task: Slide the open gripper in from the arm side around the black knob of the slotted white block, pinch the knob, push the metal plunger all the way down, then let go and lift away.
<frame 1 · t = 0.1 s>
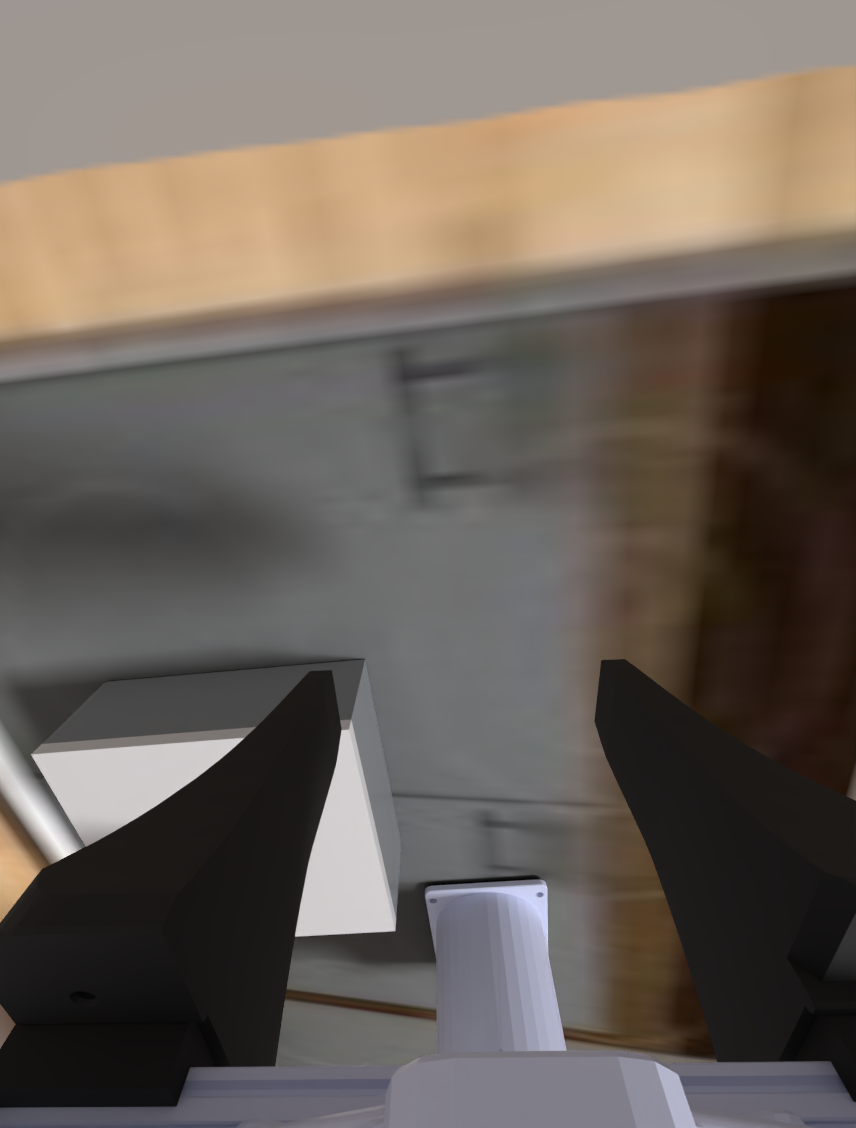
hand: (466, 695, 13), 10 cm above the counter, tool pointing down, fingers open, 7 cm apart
slotted white block: (266, 769, 27), on the counter
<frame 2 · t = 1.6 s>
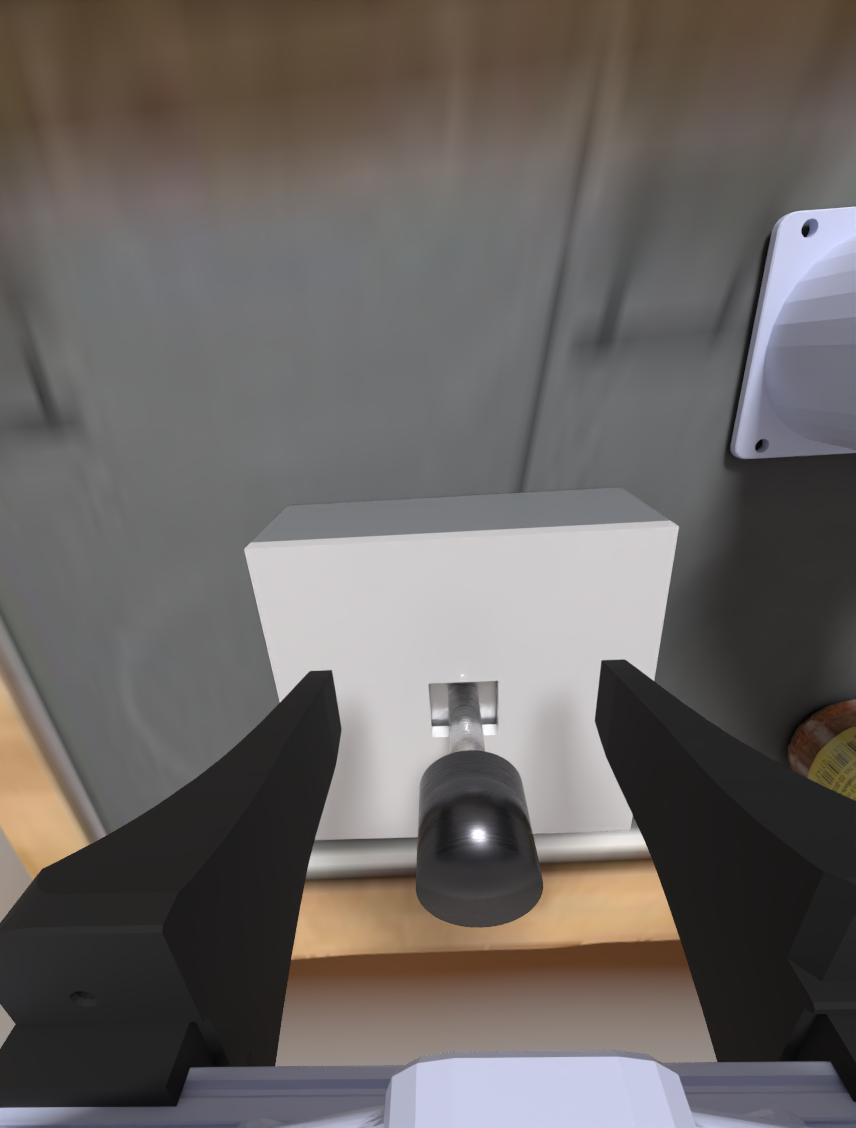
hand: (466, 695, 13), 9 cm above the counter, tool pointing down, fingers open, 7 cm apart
sauce bottle: (842, 732, 25), on the counter
slotted white block: (458, 638, 22), on the counter
plunger: (468, 764, 15), point 8 cm above the counter, slide at 0.0 cm
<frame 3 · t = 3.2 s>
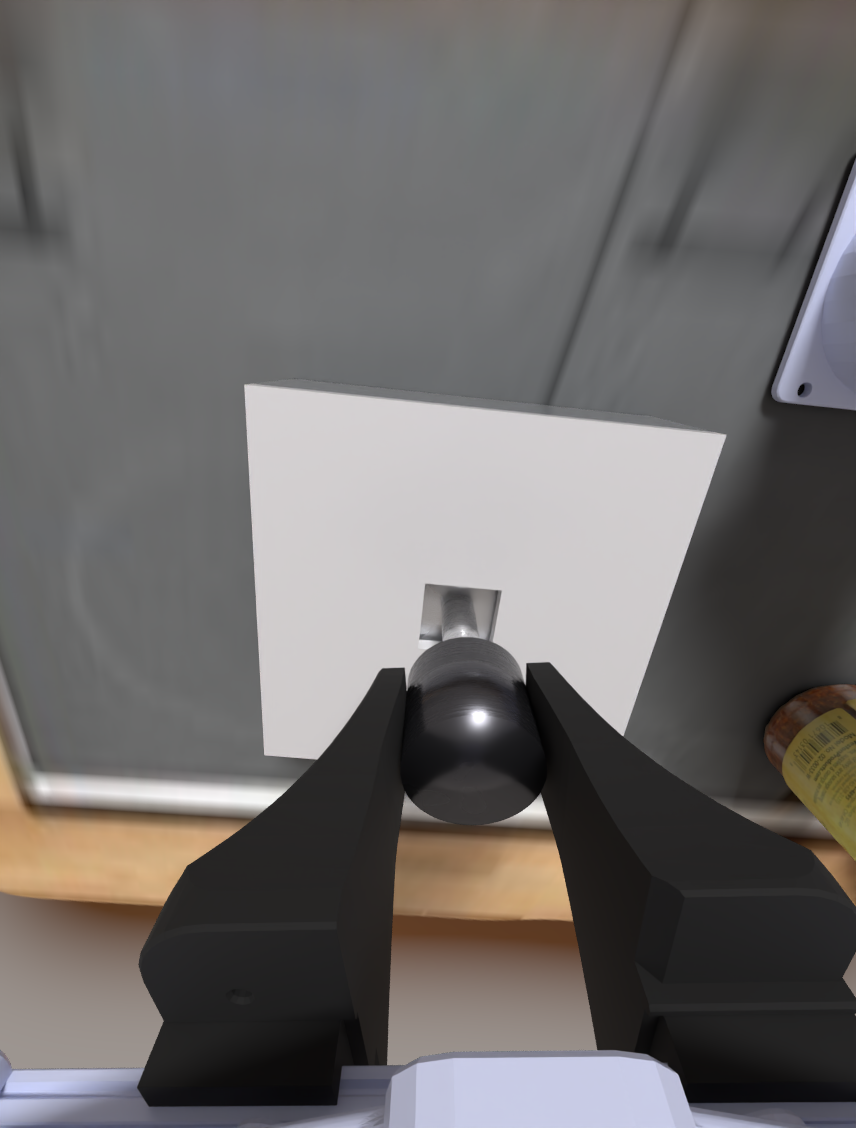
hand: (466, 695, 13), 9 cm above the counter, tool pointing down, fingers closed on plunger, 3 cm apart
sauce bottle: (818, 720, 24), on the counter
slotted white block: (453, 563, 21), on the counter
plunger: (463, 665, 14), point 8 cm above the counter, slide at 0.0 cm, touching gripper
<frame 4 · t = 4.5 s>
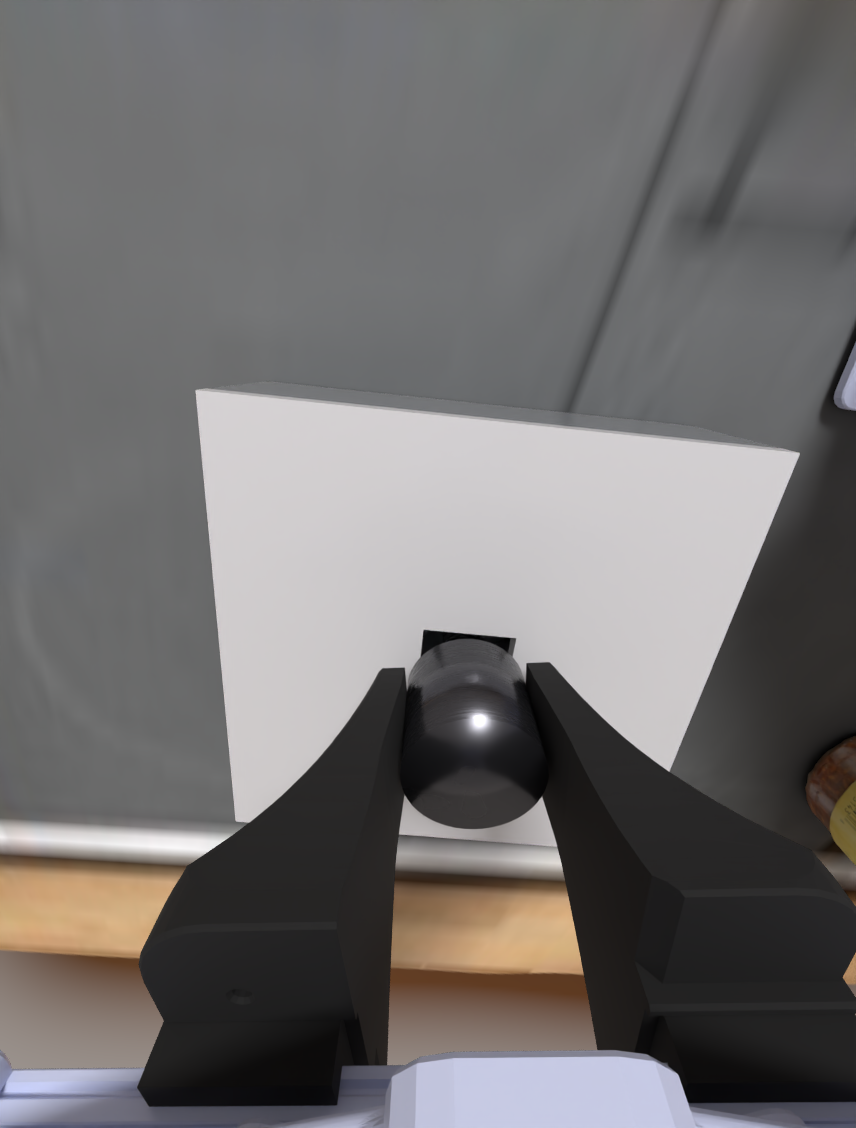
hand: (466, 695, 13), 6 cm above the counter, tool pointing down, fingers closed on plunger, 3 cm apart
slotted white block: (456, 593, 18), on the counter
plunger: (463, 667, 14), point 5 cm above the counter, slide at 2.9 cm, touching gripper
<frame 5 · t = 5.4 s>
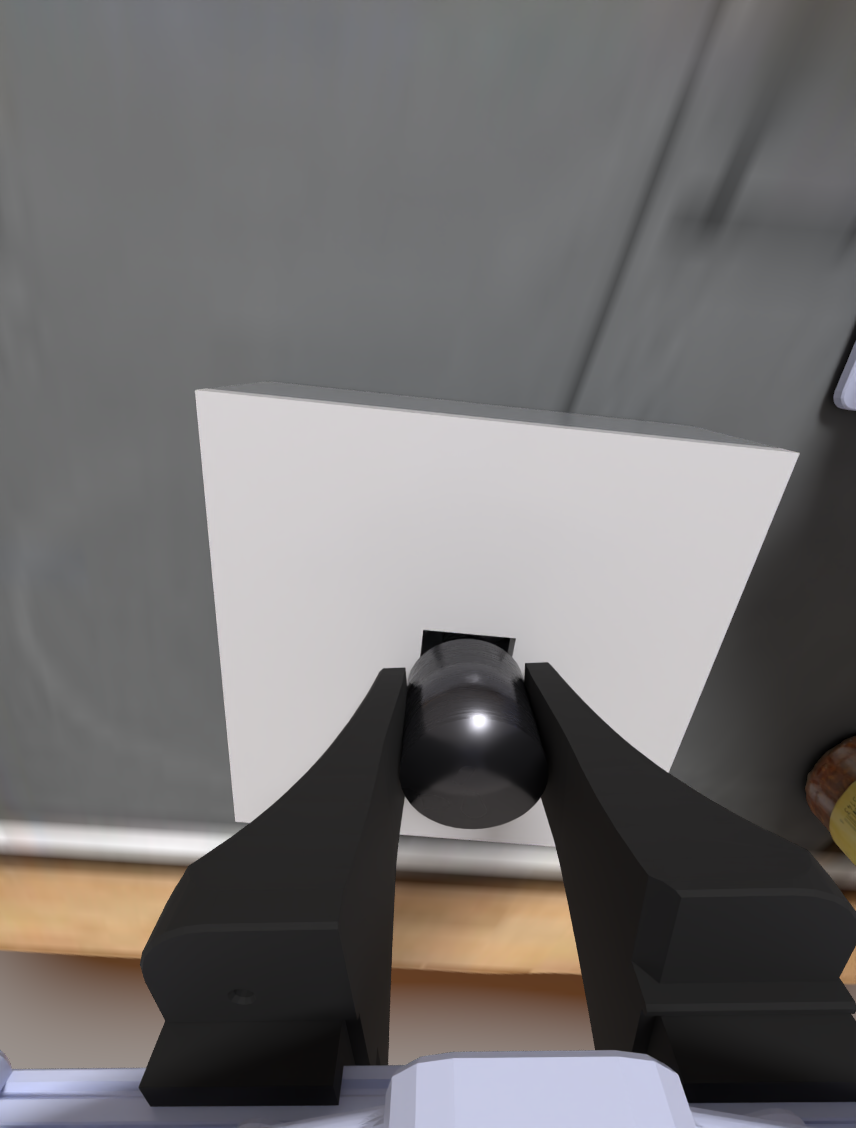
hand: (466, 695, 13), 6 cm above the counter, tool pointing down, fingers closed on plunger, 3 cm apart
slotted white block: (456, 593, 18), on the counter
plunger: (463, 667, 14), point 5 cm above the counter, slide at 2.9 cm, touching gripper
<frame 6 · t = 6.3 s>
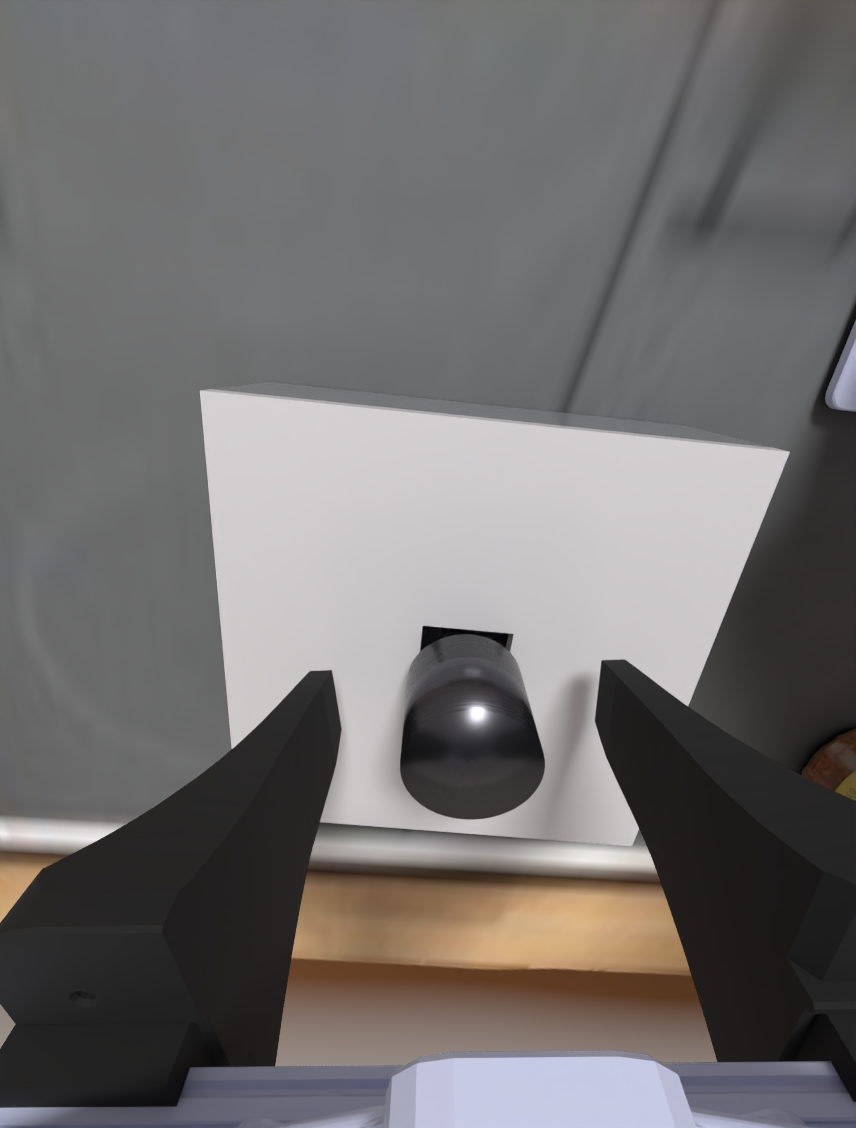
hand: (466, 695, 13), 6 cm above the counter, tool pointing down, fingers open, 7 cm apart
slotted white block: (455, 591, 18), on the counter
plunger: (462, 663, 14), point 5 cm above the counter, slide at 2.9 cm
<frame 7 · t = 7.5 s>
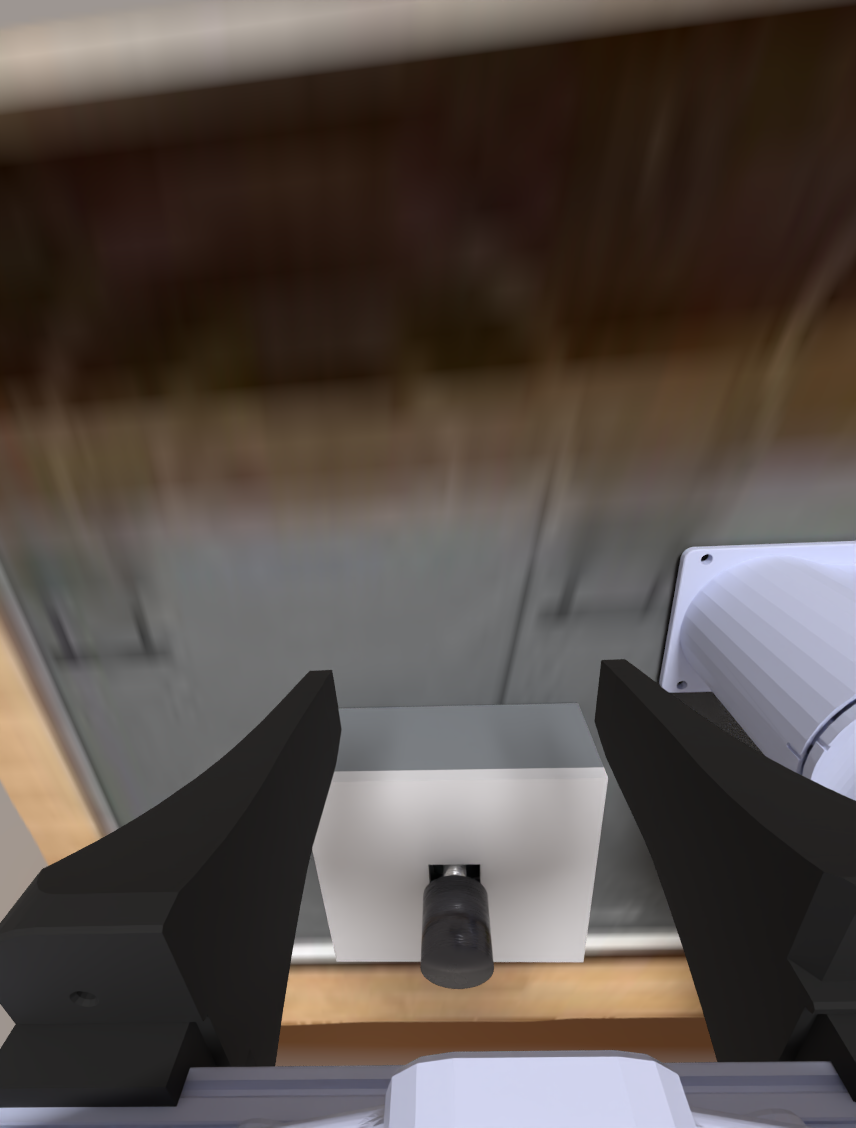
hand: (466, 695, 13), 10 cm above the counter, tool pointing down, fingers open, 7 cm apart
slotted white block: (452, 797, 29), on the counter
plunger: (454, 877, 24), point 5 cm above the counter, slide at 2.9 cm
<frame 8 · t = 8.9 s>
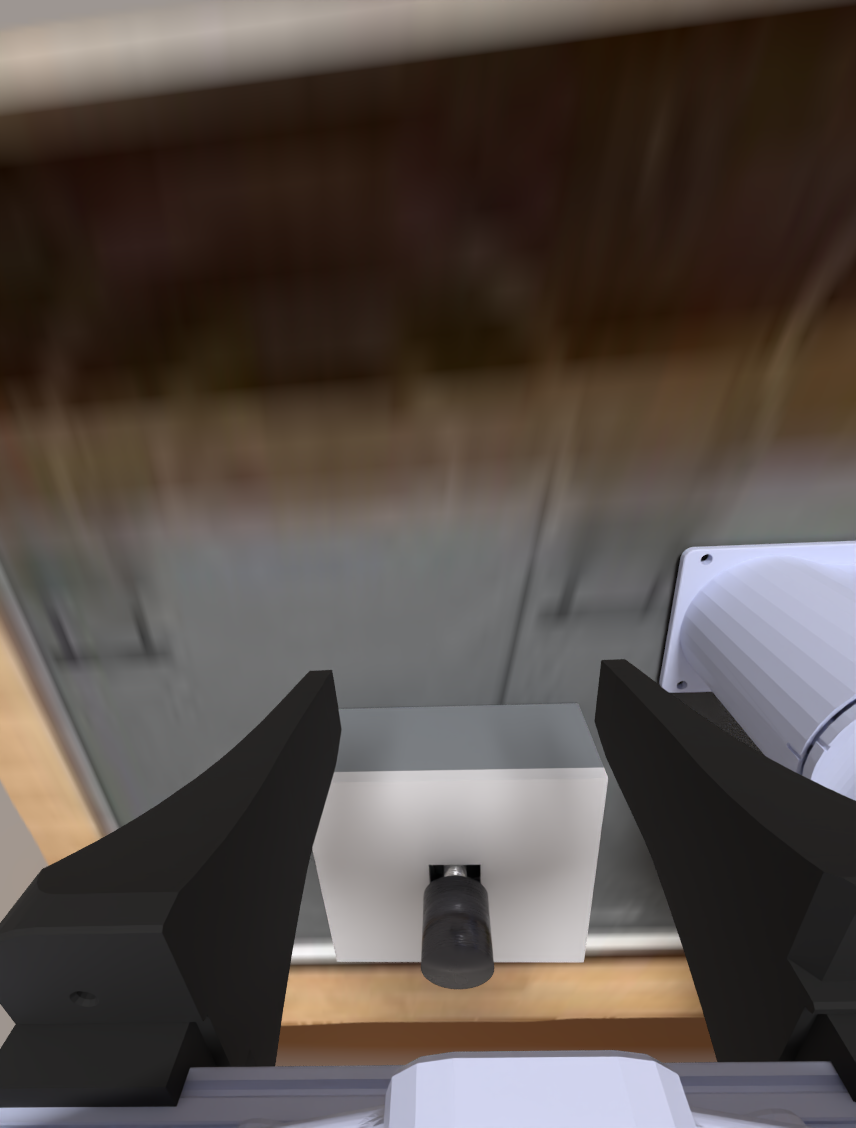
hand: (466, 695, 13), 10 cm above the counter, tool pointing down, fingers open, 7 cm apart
slotted white block: (453, 798, 29), on the counter
plunger: (455, 877, 24), point 5 cm above the counter, slide at 2.9 cm
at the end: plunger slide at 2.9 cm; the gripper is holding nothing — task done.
